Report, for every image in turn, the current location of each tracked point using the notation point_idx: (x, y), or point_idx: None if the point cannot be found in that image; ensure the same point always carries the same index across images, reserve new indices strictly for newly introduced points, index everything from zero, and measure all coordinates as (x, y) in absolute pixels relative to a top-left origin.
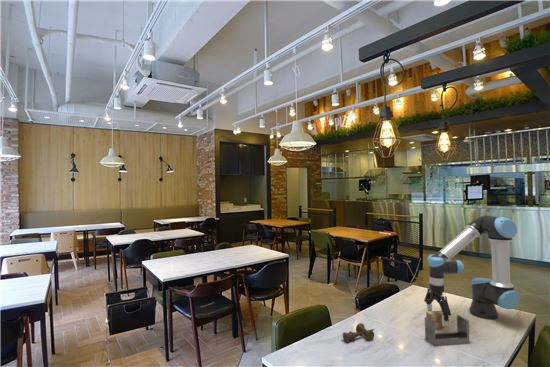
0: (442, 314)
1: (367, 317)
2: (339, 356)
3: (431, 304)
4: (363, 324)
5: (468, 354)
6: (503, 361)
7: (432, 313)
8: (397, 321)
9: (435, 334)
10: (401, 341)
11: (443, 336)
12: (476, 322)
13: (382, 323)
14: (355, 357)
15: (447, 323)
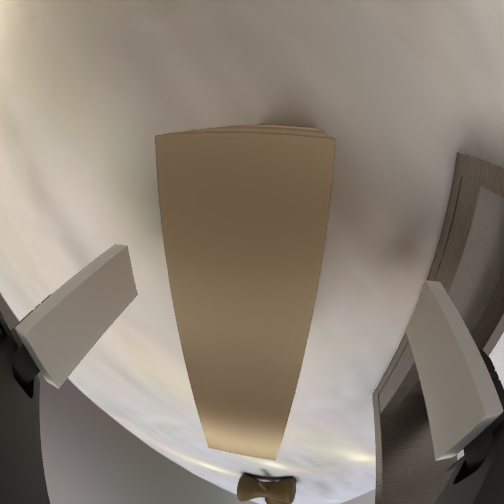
0: (449, 468)
1: (133, 422)
2: (329, 500)
3: (19, 331)
4: (241, 495)
5: None
6: None
7: (275, 445)
8: (151, 380)
9: (412, 385)
10: (336, 450)
11: None
12: None
13: (178, 425)
14: (346, 494)
15: (450, 304)
